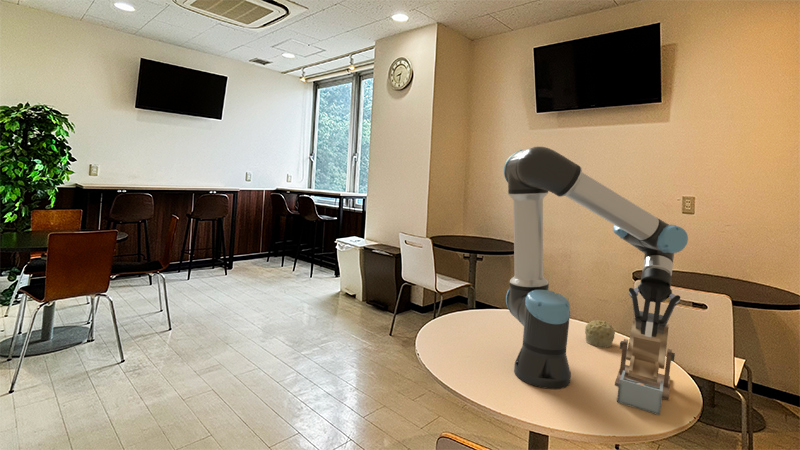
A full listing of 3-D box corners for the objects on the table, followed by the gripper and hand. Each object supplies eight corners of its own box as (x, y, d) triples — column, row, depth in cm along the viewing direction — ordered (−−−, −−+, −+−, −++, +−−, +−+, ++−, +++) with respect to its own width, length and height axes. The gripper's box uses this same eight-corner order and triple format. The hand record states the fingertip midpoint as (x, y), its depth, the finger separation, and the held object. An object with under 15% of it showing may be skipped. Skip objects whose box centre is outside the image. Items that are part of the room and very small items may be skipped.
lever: (633, 320, 124) (635, 297, 119) (668, 327, 118) (671, 303, 114) (622, 374, 108) (624, 349, 104) (662, 384, 103) (665, 359, 99)
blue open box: (621, 387, 109) (623, 366, 108) (661, 399, 104) (663, 377, 103) (616, 401, 102) (619, 379, 101) (659, 415, 96) (662, 391, 96)
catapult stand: (620, 365, 123) (623, 332, 122) (670, 379, 116) (675, 344, 114) (613, 384, 111) (617, 348, 109) (670, 401, 103) (674, 362, 102)
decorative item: (605, 359, 136) (626, 338, 135) (582, 339, 137) (603, 318, 136) (597, 348, 146) (617, 329, 144) (575, 330, 147) (595, 310, 145)
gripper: (682, 285, 119) (675, 358, 107) (631, 277, 126) (619, 345, 115) (684, 270, 114) (677, 345, 102) (631, 263, 121) (619, 332, 110)
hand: (646, 345), depth 108 cm, fingers closed
